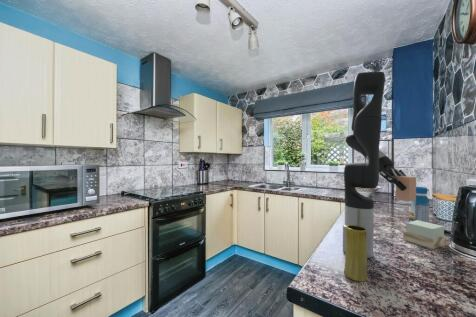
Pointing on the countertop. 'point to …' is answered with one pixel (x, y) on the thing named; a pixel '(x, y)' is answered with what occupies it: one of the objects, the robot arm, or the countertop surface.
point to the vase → (356, 253)
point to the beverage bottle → (419, 206)
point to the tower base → (424, 240)
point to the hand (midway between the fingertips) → (408, 189)
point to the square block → (407, 189)
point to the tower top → (425, 229)
